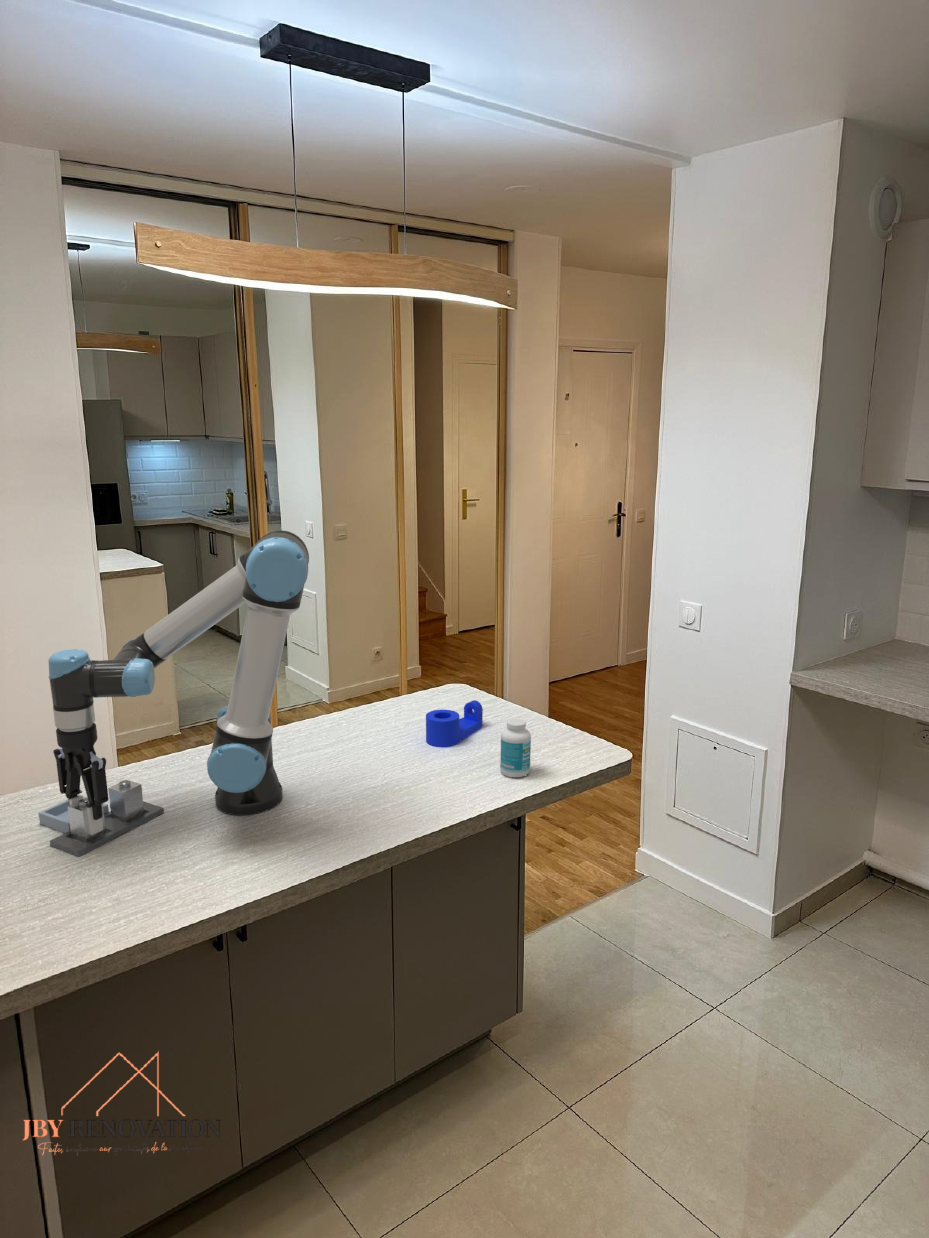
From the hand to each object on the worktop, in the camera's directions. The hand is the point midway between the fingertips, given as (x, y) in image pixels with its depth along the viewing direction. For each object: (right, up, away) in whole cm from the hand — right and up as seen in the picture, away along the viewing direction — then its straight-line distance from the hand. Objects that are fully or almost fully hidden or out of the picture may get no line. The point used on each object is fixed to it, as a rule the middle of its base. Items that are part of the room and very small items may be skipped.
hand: (87, 828), depth 180 cm
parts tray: (-7, 0, +9) cm, 11 cm away
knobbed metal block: (0, -2, +1) cm, 2 cm away
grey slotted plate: (+3, -1, +5) cm, 6 cm away
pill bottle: (+92, +6, +33) cm, 98 cm away
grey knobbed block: (+5, 0, +9) cm, 10 cm away
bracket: (+77, +12, +57) cm, 96 cm away
